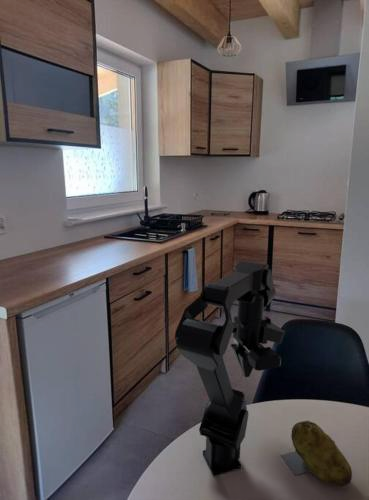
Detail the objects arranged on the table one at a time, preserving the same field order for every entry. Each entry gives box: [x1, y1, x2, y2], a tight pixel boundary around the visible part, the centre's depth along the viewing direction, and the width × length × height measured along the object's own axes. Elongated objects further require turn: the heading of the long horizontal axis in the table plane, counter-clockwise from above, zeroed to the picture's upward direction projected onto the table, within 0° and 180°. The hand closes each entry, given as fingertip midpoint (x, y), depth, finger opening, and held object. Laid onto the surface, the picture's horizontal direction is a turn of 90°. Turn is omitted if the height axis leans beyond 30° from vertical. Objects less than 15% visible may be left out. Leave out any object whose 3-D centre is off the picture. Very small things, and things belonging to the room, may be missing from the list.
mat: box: [280, 451, 311, 476], centre depth 77 cm, size 11×5×1 cm, turn 108°
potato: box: [290, 420, 353, 487], centre depth 74 cm, size 8×13×8 cm, turn 15°
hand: (246, 376), depth 85 cm, fingers closed
